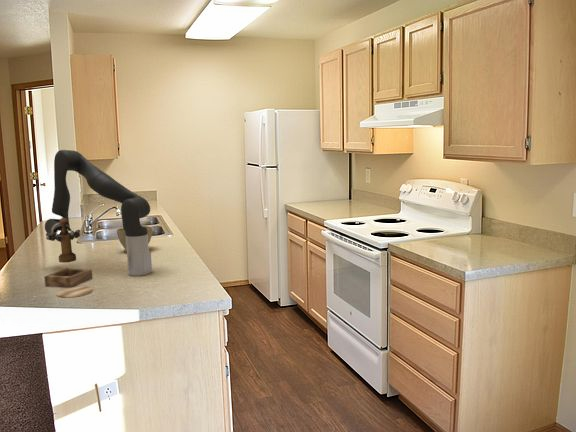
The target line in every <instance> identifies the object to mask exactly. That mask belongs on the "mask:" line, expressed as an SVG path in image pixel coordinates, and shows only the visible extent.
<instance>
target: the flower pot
mask: <svg viewBox="0 0 576 432" xmlns="http://www.w3.org/2000/svg"><path fill="white" fill-rule="evenodd" d="M142 226H143V227H146V228H147V232H148V245H149V244H150V242H151V239H152V235H153V227H152V226H150V225H142ZM116 235H117V238H118V240H119V243H120V244H121V245H122V247H123V248H124V249H125V251H127V248H126V234H125V231H124V229H123V227H121V228H118V229H116Z"/></svg>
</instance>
